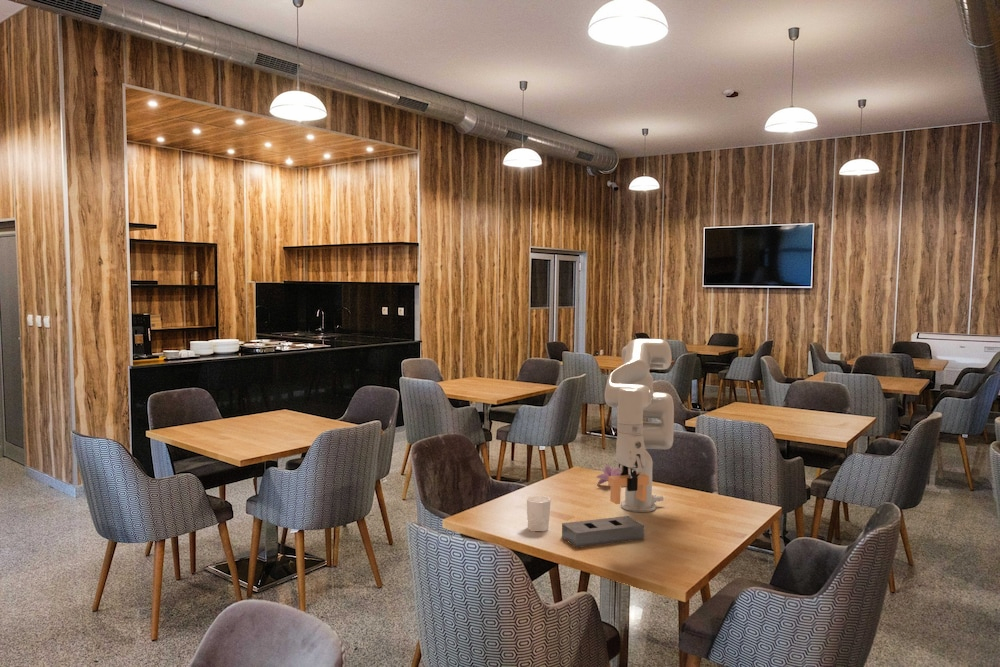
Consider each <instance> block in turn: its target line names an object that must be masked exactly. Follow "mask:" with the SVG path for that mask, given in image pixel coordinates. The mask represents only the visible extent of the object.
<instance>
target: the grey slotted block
mask: <svg viewBox="0 0 1000 667" xmlns="http://www.w3.org/2000/svg"><path fill="white" fill-rule="evenodd" d="M561 537H563V538H562V539H564V538H565V539H566V540H567V542H568V541H569V542H570V543H571V546H573V545H574V546H575V547H578V548H582V547H581V546H586V547H591V546H590V545H594V546H600V545H599V544H602V545H608V544H609V543H610V544H616V543H617V542H618V543H625V541H626V542H631V541H641V540H644V539H645V525H644V524H643V523H641V522H639V521H638V520H636V519H634V518H633V517H631V516H629V515H625V516H617V517H615V516H613V517H607V518H598V519H597V518H596V519H588V520H581V521H580V520H579V521H572V522H569V521H568V522H562V523H561ZM565 539H564V540H565ZM566 540H565V541H566ZM569 542H568V543H569ZM570 543H569V544H570ZM610 544H609V545H610ZM574 546H573V547H574ZM575 547H574V548H575Z"/></svg>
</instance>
